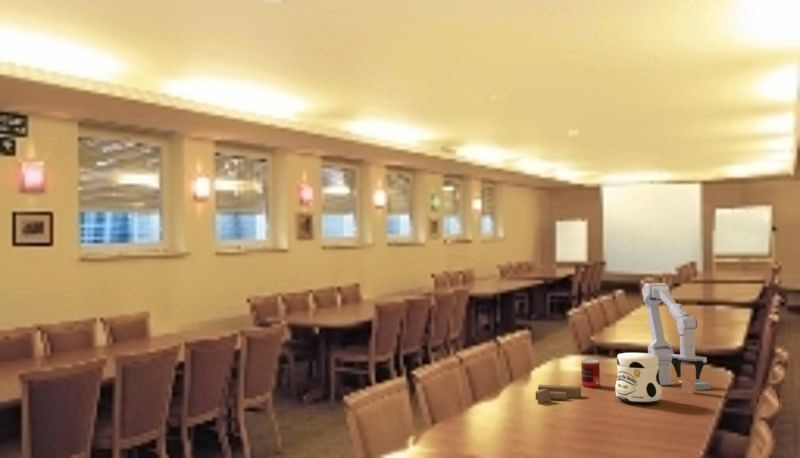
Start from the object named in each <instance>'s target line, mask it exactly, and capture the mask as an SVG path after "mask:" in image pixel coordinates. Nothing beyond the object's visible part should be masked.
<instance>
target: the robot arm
mask: <svg viewBox="0 0 800 458" xmlns="http://www.w3.org/2000/svg"><path fill="white" fill-rule="evenodd" d="M641 294H642V298H643V299H642V300H643V303H645V307H646V308H645V309H646V313H647V318H648V325H649V329H650V336H651V340H652V341H651V342H650V344H648V346H647V354H653V355H657V356H658V361H659V381H660V384H661V386H669V385H675V383H674V382H671V364H672V366H673V368H674V370H675V373H676V377H677V378H681V377H682V376H681V375H682V372H681V371H682V369H681V368H682V366H681V365H682V361H688V362H694V368H695V380H701V373H702V370H703V367H704V365H706V364H705V363H707V362H708V360H707V357H706V356H700V355H696V339H695V333H696V330H697V328H698V326H699V325H698V319H697V318H696V316H695V315H691V314H689V313H688V312H687V310H686V309H685V308H684V307H683V305H682V304H681V303H677V302H676V301H675V299H674V297H673V296H672V295H671V293H670V287H669V285H667V283H666V282H659V283H657V282H656V283H644V285H643V286H642V289H641ZM662 302H663V303H664V304H665V305H666V307H668V309H669V310H668V311H669V314H670V315H671V317H672V318H673V319H674V320H675V321H676V327H677V331H678V332H677V333H678V334H679V352H680V353H679V354H676V353H674V350H673V349H672V345H671V343H670V342H668V341H667V340H666V338H665V333H664V328H663V322H662V317H661V312H660V309H659V308H660V307H659V305H660V304H661V303H662Z"/></svg>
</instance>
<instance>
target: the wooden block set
mask: <svg viewBox="0 0 800 458" xmlns="http://www.w3.org/2000/svg"><path fill="white" fill-rule="evenodd" d="M581 397H582V387H581V386H579V385H578V386H576V385H575V386H574V385H560V384H538V385H537V390H536V391H535V400H537V404H538V405H541V404H544V403H549V402H551V401H567V399H577V398H581Z"/></svg>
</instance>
